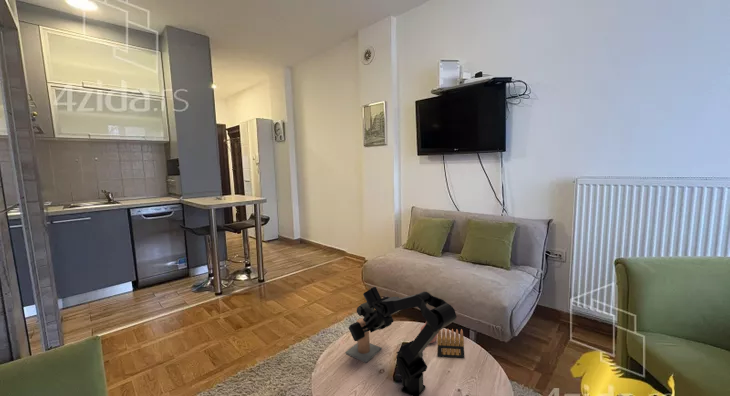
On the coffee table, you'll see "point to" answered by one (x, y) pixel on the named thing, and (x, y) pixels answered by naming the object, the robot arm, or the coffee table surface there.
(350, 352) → the slate mat
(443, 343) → the ammunition clip
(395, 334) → the coffee table surface
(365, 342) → the tan domed cylinder
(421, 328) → the pink bottle vase
